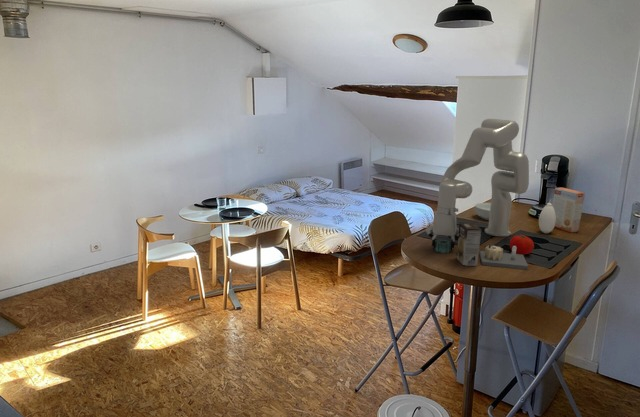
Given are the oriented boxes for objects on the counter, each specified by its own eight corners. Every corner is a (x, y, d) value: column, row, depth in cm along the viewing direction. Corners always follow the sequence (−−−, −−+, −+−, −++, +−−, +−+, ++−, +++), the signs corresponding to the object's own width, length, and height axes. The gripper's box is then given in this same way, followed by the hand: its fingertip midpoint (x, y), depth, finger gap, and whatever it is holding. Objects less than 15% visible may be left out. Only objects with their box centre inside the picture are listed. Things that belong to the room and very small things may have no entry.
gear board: (479, 253, 221) (481, 238, 219) (522, 257, 217) (524, 242, 215) (481, 264, 208) (483, 248, 206) (527, 269, 204) (529, 252, 202)
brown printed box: (455, 258, 215) (458, 222, 211) (470, 258, 216) (473, 222, 212) (462, 265, 207) (466, 228, 202) (477, 265, 207) (481, 228, 203)
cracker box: (579, 232, 257) (585, 192, 251) (570, 233, 254) (576, 193, 249) (557, 224, 269) (563, 186, 264) (549, 225, 267) (554, 187, 262)
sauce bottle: (537, 234, 251) (542, 199, 247) (536, 229, 259) (541, 196, 254) (554, 235, 249) (560, 201, 245) (552, 231, 256) (557, 197, 252)
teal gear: (434, 247, 229) (435, 238, 228) (450, 248, 227) (451, 240, 226) (434, 252, 222) (435, 243, 221) (450, 253, 221) (451, 245, 220)
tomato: (512, 248, 229) (514, 230, 227) (535, 253, 223) (538, 235, 221) (505, 253, 222) (507, 235, 220) (529, 259, 216) (531, 240, 214)
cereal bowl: (473, 221, 273) (474, 208, 271) (473, 213, 288) (474, 201, 286) (506, 224, 268) (507, 211, 266) (504, 216, 283) (506, 204, 281)
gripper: (466, 209, 222) (462, 247, 226) (426, 206, 225) (423, 244, 230) (466, 214, 214) (462, 253, 219) (425, 210, 218) (422, 249, 223)
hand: (442, 248), depth 224 cm, fingers closed on teal gear, 7 cm apart
